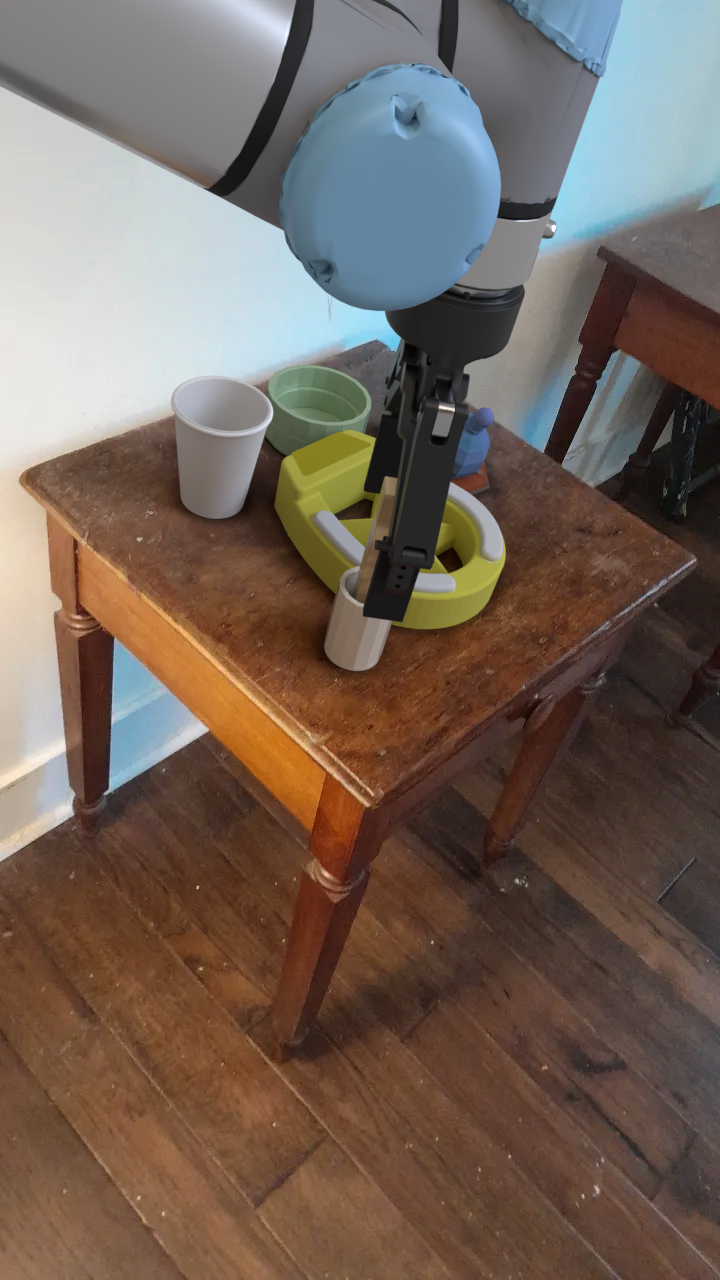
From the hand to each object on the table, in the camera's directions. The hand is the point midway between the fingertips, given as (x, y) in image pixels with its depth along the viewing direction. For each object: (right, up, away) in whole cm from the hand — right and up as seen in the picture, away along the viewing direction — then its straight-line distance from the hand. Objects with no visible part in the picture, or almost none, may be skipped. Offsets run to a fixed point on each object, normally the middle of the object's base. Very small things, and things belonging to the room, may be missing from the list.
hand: (381, 549), depth 68 cm
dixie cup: (-15, +6, +17) cm, 23 cm away
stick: (-2, -7, +7) cm, 10 cm away
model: (+6, +11, +28) cm, 31 cm away
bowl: (-6, +14, +26) cm, 30 cm away
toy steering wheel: (+1, +2, +17) cm, 17 cm away
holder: (-2, -7, +8) cm, 11 cm away
